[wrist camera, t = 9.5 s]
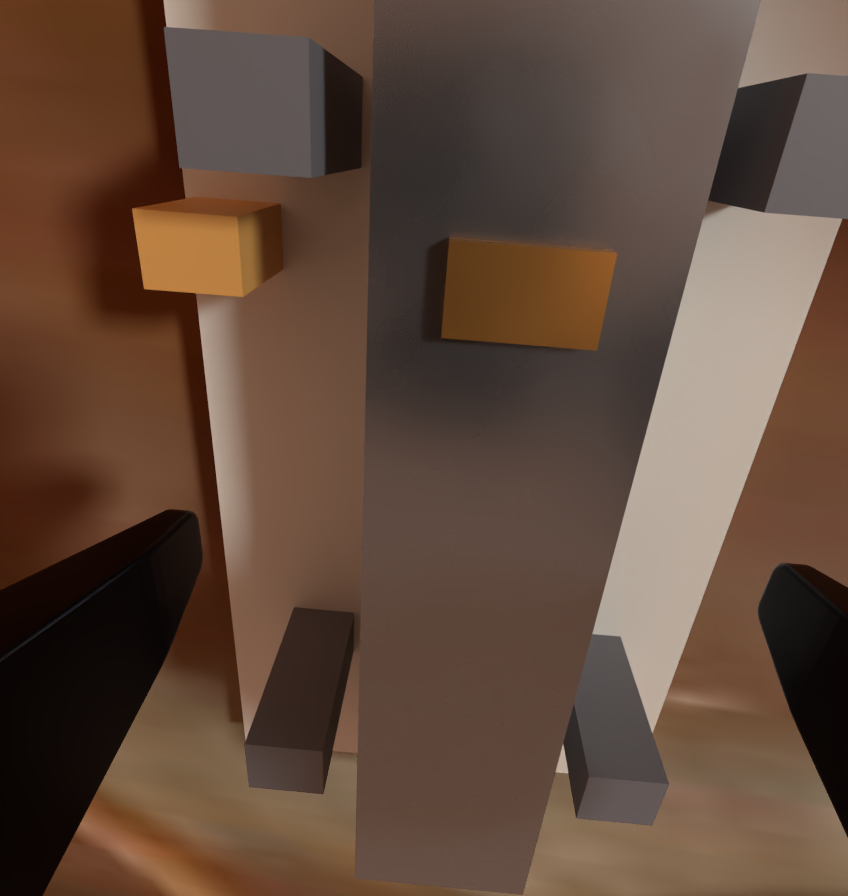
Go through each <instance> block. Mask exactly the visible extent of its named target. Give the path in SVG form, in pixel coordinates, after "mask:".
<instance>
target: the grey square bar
mask: <svg viewBox="0 0 848 896" xmlns="http://www.w3.org/2000/svg"><path fill="white" fill-rule="evenodd" d="M760 3H761V0H374V36H373V81H372V126H371V171H370V217H369V262H368V307H367V352H366V397H365V442H364V488H363V533H362V578H361V623H360V668H359V713H358V759H357V804H356V849H355V878H357V879H367V880H377V881H388V882H398V883H408V884H418V885H428V886H439V887H449V888H459V889H469V890H479V891H490V892H500V893H510V894H520V895H523V892H524V888H525V884H526V881H527V877H528V873H529V869H530V866H531V862H532V858H533V854H534V851H535V847H536V843H537V839H538V836H539V832H540V828H541V824H542V821H543V817H544V813H545V810H546V806H547V802H548V798H549V795H550V791H551V787H552V783H553V780H554V776H555V772H556V768H557V765H558V761H559V757H560V753H561V750H562V746H563V742H564V738H565V735H566V731H567V727H568V723H569V720H570V716H571V712H572V708H573V705H574V701H575V697H576V693H577V690H578V686H579V682H580V678H581V675H582V671H583V667H584V663H585V660H586V656H587V652H588V648H589V645H590V641H591V637H592V633H593V630H594V626H595V622H596V618H597V615H598V611H599V607H600V603H601V600H602V596H603V592H604V588H605V585H606V581H607V577H608V573H609V570H610V566H611V562H612V558H613V555H614V551H615V547H616V543H617V540H618V536H619V532H620V528H621V525H622V521H623V517H624V513H625V510H626V506H627V502H628V498H629V495H630V491H631V487H632V483H633V480H634V476H635V472H636V468H637V465H638V461H639V457H640V453H641V450H642V446H643V442H644V438H645V435H646V431H647V427H648V423H649V420H650V416H651V412H652V408H653V405H654V401H655V397H656V393H657V390H658V386H659V382H660V378H661V375H662V371H663V367H664V363H665V360H666V356H667V352H668V348H669V345H670V341H671V337H672V333H673V330H674V326H675V322H676V318H677V315H678V311H679V307H680V303H681V300H682V296H683V292H684V288H685V285H686V281H687V277H688V273H689V270H690V266H691V262H692V258H693V255H694V251H695V247H696V243H697V240H698V236H699V232H700V228H701V225H702V221H703V217H704V213H705V210H706V206H707V202H708V198H709V195H710V191H711V187H712V183H713V180H714V176H715V172H716V168H717V165H718V161H719V157H720V153H721V150H722V146H723V142H724V138H725V135H726V131H727V127H728V123H729V120H730V116H731V112H732V108H733V105H734V101H735V97H736V93H737V90H738V86H739V82H740V78H741V75H742V71H743V67H744V63H745V60H746V56H747V52H748V48H749V45H750V41H751V37H752V33H753V30H754V26H755V22H756V18H757V15H758V11H759V7H760Z"/></svg>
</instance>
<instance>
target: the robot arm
mask: <svg viewBox="0 0 848 896" xmlns="http://www.w3.org/2000/svg"><path fill="white" fill-rule="evenodd" d="M202 561H203V552H202V544H201V536H200V529H199V521H198V517H197V515H196V514H195V513H194V512H193V511H185V510H174V509H169V510H166V511H164V512H161V513H159V514H157V515H155V516H153V517H151V518H149V519H147V520H145V521H143V522H141V523H139V524H137V525H135V526H133V527H130V528H128V529H126V530H124V531H122V532H120V533H118V534H116V535H114V536H112V537H110V538H108V539H106V540H104V541H101V542H99V543H97V544H95V545H93V546H91V547H89V548H87V549H85V550H83V551H81V552H79V553H77V554H75V555H72V556H70V557H68V558H66V559H64V560H62V561H60V562H58V563H56V564H54V565H52V566H50V567H48V568H46V569H43V570H41V571H39V572H37V573H35V574H33V575H31V576H29V577H27V578H25V579H23V580H21V581H19V582H17V583H14V584H12V585H10V586H8V587H6V588H4V589H2V590H0V896H43V894H44V892H45V890H46V888H47V886H48V884H49V882H50V880H51V879H52V877H53V875H54V873H55V871H56V869H57V867H58V865H59V863H60V861H61V859H62V857H63V855H64V854H65V852H66V850H67V848H68V846H69V844H70V842H71V840H72V838H73V836H74V834H75V832H76V830H77V829H78V827H79V825H80V823H81V821H82V819H83V817H84V815H85V813H86V811H87V809H88V807H89V805H90V804H91V802H92V800H93V798H94V796H95V794H96V792H97V790H98V788H99V786H100V784H101V782H102V780H103V779H104V777H105V775H106V773H107V771H108V769H109V767H110V765H111V763H112V761H113V759H114V757H115V755H116V753H117V752H118V750H119V748H120V746H121V744H122V742H123V740H124V738H125V736H126V734H127V732H128V730H129V728H130V727H131V725H132V723H133V721H134V719H135V717H136V715H137V713H138V711H139V709H140V707H141V705H142V703H143V702H144V700H145V698H146V696H147V694H148V692H149V690H150V688H151V686H152V684H153V682H154V680H155V678H156V677H157V675H158V673H159V671H160V669H161V667H162V665H163V663H164V661H165V659H166V657H167V655H168V652H169V650H170V647H171V645H172V643H173V640H174V638H175V635H176V632H177V630H178V627H179V625H180V622H181V619H182V617H183V614H184V612H185V609H186V606H187V604H188V601H189V598H190V596H191V593H192V591H193V588H194V585H195V583H196V580H197V578H198V575H199V572H200V570H201V566H202ZM758 617H759V621H760V624H761V627H762V630H763V633H764V636H765V639H766V642H767V645H768V648H769V651H770V654H771V657H772V660H773V663H774V666H775V669H776V672H777V675H778V677H779V680H780V683H781V686H782V689H783V692H784V695H785V698H786V701H787V703H788V706H789V709H790V711H791V714H792V716H793V718H794V721H795V723H796V725H797V728H798V730H799V732H800V734H801V736H802V739H803V741H804V743H805V745H806V747H807V750H808V752H809V754H810V756H811V758H812V760H813V763H814V765H815V767H816V769H817V771H818V774H819V776H820V778H821V780H822V782H823V785H824V787H825V789H826V791H827V793H828V795H829V798H830V800H831V802H832V804H833V806H834V809H835V811H836V813H837V815H838V817H839V820H840V822H841V824H842V826H843V828H844V830H845V833H846V835H847V837H848V587H846V586H844V585H842V584H841V583H839V582H837V581H835V580H834V579H832V578H830V577H828V576H827V575H825V574H823V573H821V572H820V571H818V570H816V569H814V568H813V567H811V566H808V565H802V564H790V563H781V564H779V565H777V566H776V567H775V568H774V570H773V572H772V574H771V576H770V579H769V581H768V583H767V586H766V588H765V590H764V593H763V595H762V597H761V600H760V602H759V606H758Z"/></svg>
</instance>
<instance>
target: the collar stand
mask: <svg viewBox="0 0 848 896" xmlns="http://www.w3.org/2000/svg"><path fill="white" fill-rule="evenodd" d="M164 9H165V18H166V27H164V35H165V44H166V53H167V62H168V71H169V80H170V88H171V97H172V106H173V115H174V124H175V133H176V142H177V151H178V160H179V168H182V171H183V180H184V189H185V198H186V199H181V200H176V201H170V202H165V203H159V204H154V205H149V206H143V207H138V208H132V212H133V219H134V225H135V232H136V239H137V245H138V252H139V258H140V265H141V272H142V278H143V285H144V289H149V290H162V291H174V292H187V293H196V298H197V307H198V316H199V325H200V334H201V343H202V352H203V361H204V370H205V379H206V388H207V397H208V406H209V415H210V424H211V433H212V442H213V451H214V460H215V469H216V478H217V487H218V496H219V505H220V514H221V523H222V532H223V541H224V550H225V560H226V569H227V578H228V587H229V596H230V605H231V614H232V623H233V632H234V641H235V650H236V659H237V668H238V677H239V686H240V695H241V704H242V713H243V722H244V731H245V740H246V741H245V744H244V745H245V754H246V763H247V772H248V781H249V787H254V788H265V789H275V790H285V791H296V792H306V793H317V794H323V793H324V789H325V784H326V779H327V775H328V770H329V765H330V760H331V756H332V751H337V752H348V753H358V713H359V668H360V623H361V578H362V533H363V488H364V442H365V397H366V352H367V307H368V262H369V217H370V171H371V126H372V81H373V36H374V0H164ZM842 219H848V0H761V3H760V7H759V11H758V15H757V18H756V22H755V26H754V30H753V33H752V37H751V41H750V45H749V48H748V52H747V56H746V60H745V63H744V67H743V71H742V75H741V78H740V82H739V86H738V90H737V93H736V97H735V101H734V105H733V108H732V112H731V116H730V120H729V123H728V127H727V131H726V135H725V138H724V142H723V146H722V150H721V153H720V157H719V161H718V165H717V168H716V172H715V176H714V180H713V183H712V187H711V191H710V195H709V198H708V202H707V206H706V210H705V213H704V217H703V221H702V225H701V228H700V232H699V236H698V240H697V243H696V247H695V251H694V255H693V258H692V262H691V266H690V270H689V273H688V277H687V281H686V285H685V288H684V292H683V296H682V300H681V303H680V307H679V311H678V315H677V318H676V322H675V326H674V330H673V333H672V337H671V341H670V345H669V348H668V352H667V356H666V360H665V363H664V367H663V371H662V375H661V378H660V382H659V386H658V390H657V393H656V397H655V401H654V405H653V408H652V412H651V416H650V420H649V423H648V427H647V431H646V435H645V438H644V442H643V446H642V450H641V453H640V457H639V461H638V465H637V468H636V472H635V476H634V480H633V483H632V487H631V491H630V495H629V498H628V502H627V506H626V510H625V513H624V517H623V521H622V525H621V528H620V532H619V536H618V540H617V543H616V547H615V551H614V555H613V558H612V562H611V566H610V570H609V573H608V577H607V581H606V585H605V588H604V592H603V596H602V600H601V603H600V607H599V611H598V615H597V618H596V622H595V626H594V630H593V633H592V637H591V641H590V645H589V648H588V652H587V656H586V660H585V663H584V667H583V671H582V675H581V678H580V682H579V686H578V690H577V693H576V697H575V701H574V705H573V708H572V712H571V716H570V720H569V723H568V727H567V731H566V735H565V738H564V742H563V746H562V750H561V753H560V757H559V761H558V765H557V768H556V772H560V773H568V774H569V779H570V785H571V791H572V797H573V802H574V808H575V814H576V818H578V819H589V820H599V821H610V822H620V823H630V824H641V825H651V826H652V824H653V822H654V819H655V817H656V815H657V812H658V810H659V807H660V805H661V802H662V800H663V798H664V795H665V793H666V790H667V788H668V786H669V783H668V780H667V777H666V774H665V770H664V767H663V764H662V761H661V758H660V755H659V752H658V749H657V746H656V743H655V740H654V737H653V734H652V733H653V730H654V728H655V725H656V722H657V719H658V717H659V714H660V711H661V709H662V706H663V703H664V700H665V698H666V695H667V692H668V690H669V687H670V684H671V681H672V679H673V676H674V673H675V671H676V668H677V665H678V663H679V660H680V657H681V654H682V652H683V649H684V646H685V644H686V641H687V638H688V635H689V633H690V630H691V627H692V625H693V622H694V619H695V616H696V614H697V611H698V608H699V606H700V603H701V600H702V598H703V595H704V592H705V589H706V587H707V584H708V581H709V579H710V576H711V573H712V570H713V568H714V565H715V562H716V560H717V557H718V554H719V551H720V549H721V546H722V543H723V541H724V538H725V535H726V532H727V530H728V527H729V524H730V522H731V519H732V516H733V514H734V511H735V508H736V505H737V503H738V500H739V497H740V495H741V492H742V489H743V486H744V484H745V481H746V478H747V476H748V473H749V470H750V467H751V465H752V462H753V459H754V457H755V454H756V451H757V449H758V446H759V443H760V440H761V438H762V435H763V432H764V430H765V427H766V424H767V421H768V419H769V416H770V413H771V411H772V408H773V405H774V402H775V400H776V397H777V394H778V392H779V389H780V386H781V384H782V381H783V378H784V375H785V373H786V370H787V367H788V365H789V362H790V359H791V356H792V354H793V351H794V348H795V346H796V343H797V340H798V337H799V335H800V332H801V329H802V327H803V324H804V321H805V318H806V316H807V313H808V310H809V308H810V305H811V302H812V300H813V297H814V294H815V291H816V289H817V286H818V283H819V281H820V278H821V275H822V272H823V270H824V267H825V264H826V262H827V259H828V256H829V253H830V251H831V248H832V245H833V243H834V240H835V237H836V235H837V232H838V229H839V226H840V224H841V221H842Z"/></svg>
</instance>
